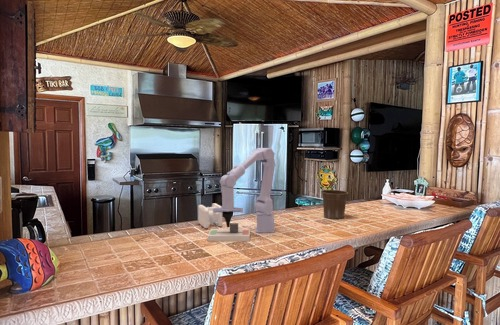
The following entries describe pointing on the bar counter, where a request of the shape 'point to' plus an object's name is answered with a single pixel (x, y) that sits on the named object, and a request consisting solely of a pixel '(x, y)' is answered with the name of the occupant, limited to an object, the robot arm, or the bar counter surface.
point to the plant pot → (334, 203)
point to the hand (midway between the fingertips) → (228, 226)
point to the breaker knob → (233, 227)
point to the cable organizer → (209, 215)
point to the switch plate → (229, 235)
